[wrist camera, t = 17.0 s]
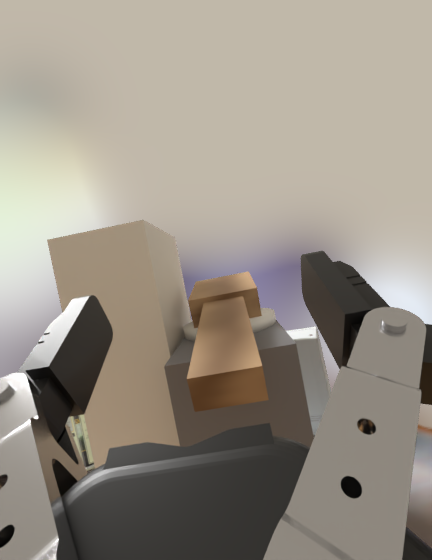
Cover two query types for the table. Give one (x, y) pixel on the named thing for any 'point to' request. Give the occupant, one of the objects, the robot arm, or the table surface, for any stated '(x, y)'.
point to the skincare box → (312, 372)
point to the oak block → (225, 344)
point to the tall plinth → (128, 327)
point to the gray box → (277, 410)
